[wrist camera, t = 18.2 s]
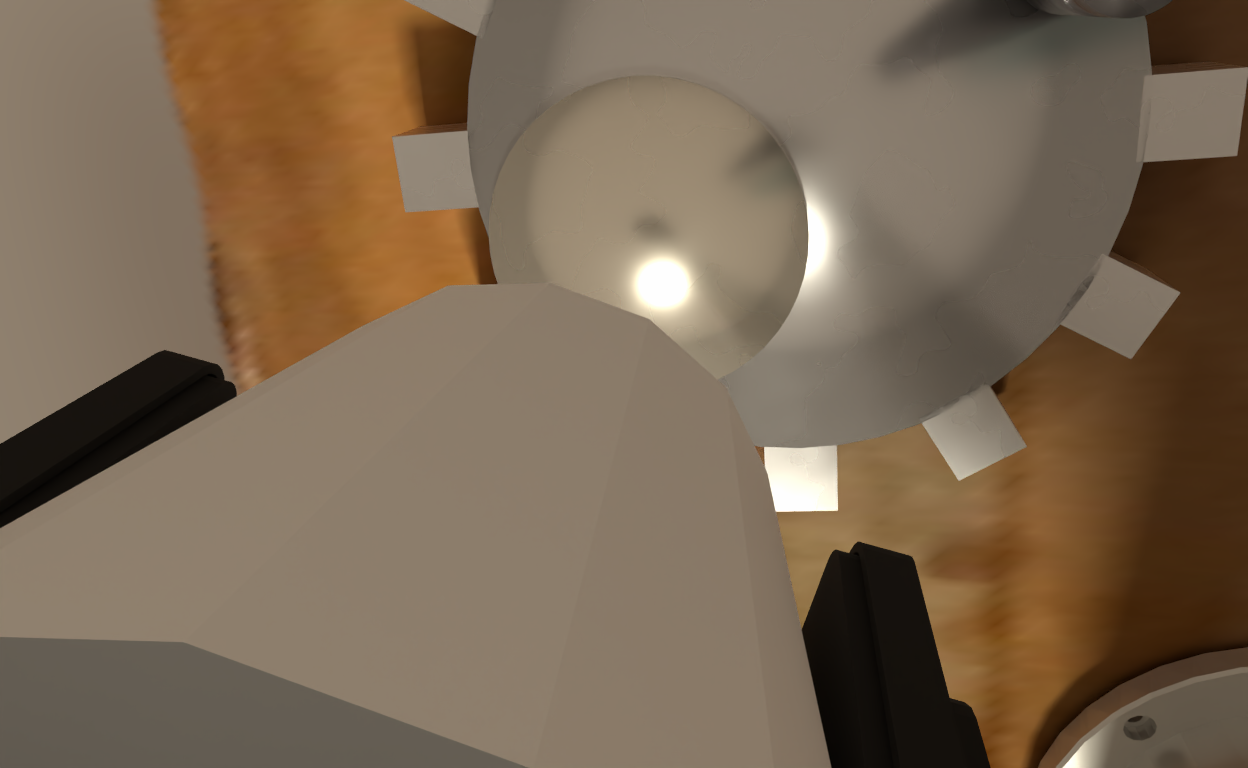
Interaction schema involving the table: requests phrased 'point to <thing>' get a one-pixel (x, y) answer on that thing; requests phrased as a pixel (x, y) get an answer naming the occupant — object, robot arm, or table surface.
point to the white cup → (422, 565)
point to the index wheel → (828, 193)
